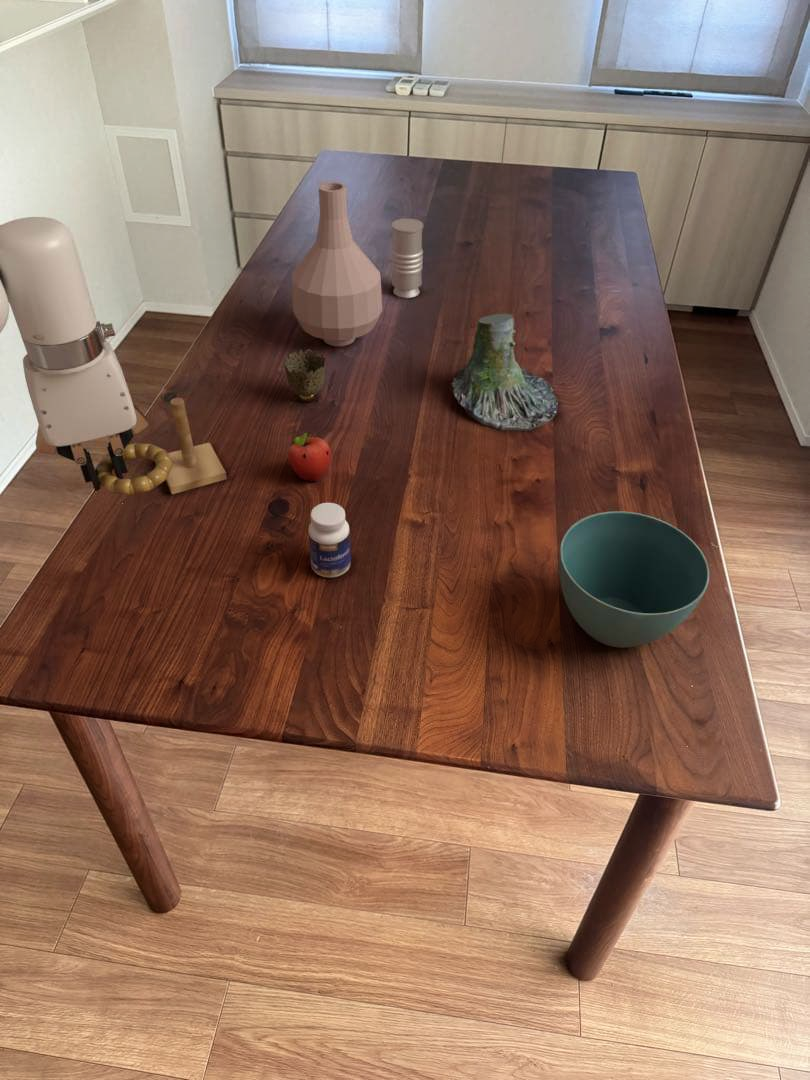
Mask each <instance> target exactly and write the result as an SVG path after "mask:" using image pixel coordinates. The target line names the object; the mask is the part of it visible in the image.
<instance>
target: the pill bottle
mask: <svg viewBox="0 0 810 1080" xmlns="http://www.w3.org/2000/svg"><path fill="white" fill-rule="evenodd" d="M350 532H351V531H350V525H349V523H348V521H347V520H346V511H345V509H344V508H343V507H342V506H341V505H340V504H337V503H335V502H322V503H319V504H317V505H315V506H314V507H313V508H312V509H311V511H310V524H309V526H308V532H307V533H308V543H309V544H308V545H309V558H310V566H311V569H312V571H313V572H314V573H315V574H317V575H318V576H320V577H322V578H327V579H328V578H329V579H332V578H338V577H340V576H342V575H344V574H345V573H346V572H348V570H349V569H350V567H351V563H352V562H351V561H352V559H351V533H350Z"/></svg>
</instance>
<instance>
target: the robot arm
mask: <svg viewBox="0 0 810 1080" xmlns="http://www.w3.org/2000/svg"><path fill="white" fill-rule="evenodd" d="M86 281H87V280H86V277H85V274H84V270H83V268H82V264H81V260H80V257H79V253H78V249H77V245H76V242H75V240H74V236H73V234H72V232H71V231H70V229H69V228H68V226H67V225H66V224H64V223H63V222H62V221H59V220H57V219H55V218H52V217H47V216H28V217H27V216H26V217H21V218H15V219H13V220H10V221H6V222H5V223H2V224H0V334H1V333H2V332H3V330H4V328H5V327H6V325H7V323H8V319H9V315H10V314H9V313H10V309H11V311H12V314H13V317H14V319H15V323H16V325H17V329H18V332H19V334H20V337H21V339H22V343H23V346H24V349H25V351H26V354H25V355H24V357H23V359H22V367H23V372H24V373H23V374H24V378H25V383H26V388H27V391H28V394H29V398H30V401H31V404H32V409H33V411H34V414H35V417H36V420H37V423H38V425H37V432H36V438H35V448H36V451H37V452H38V453H39V454H49V455H55V454H57V455H59V456H61V457H63V458H66V459H69V460H71V461H73V462H75V464H76V465H77V466H79V467H80V471H81V473H82V476H83V479H84V481H85V483H86V484H87V483H92V487H93V489H94V492H98V491H100V489H101V488H102V487H101V486H100V485H99V481H98V478H97V475H96V472H95V469H96V467H95V466H94V463H93V459H92V457H91V453H90V451H88V450H87V449H86V448H84V446H83V444H82V443H84V442H89V441H92V440H96V439H100V438H106V437H108V441H109V442H108V443H107V447H106V448H107V453H109V455H110V458H111V462H112V465H113V468H114V469H113V472H114V475H115V477H117V478H119V479H125V478H124V475H123V474H126V473H128V472H129V471H128V468H127V464H126V461H124V457H123V454H124V449H125V448H126V446H127V445H130V444H129V443H131V441H132V440H133V438H134V436H135V435H138V434H139V433H141V432H142V431H144V430H145V429H147V428H148V427H149V421H148V419H147V416H145V414H144V413H143V412H142V411H141V410H140V409H139V408H138V407H137V406H136V405H135V403H134V402H133V398H132V396H131V394H130V393H131V392H130V389H129V387H128V384H127V380H126V379H125V375H124V372H123V369H122V366H121V364H120V361H119V359H118V357H117V355H116V353H115V351H114V349H113V346H112V345H111V343H110V341H108V339H109V338H110V337H116V331H115V328H114V326H113V323H112V322H110V323H104V322H103V323H101V321H100V320H99V321H97V317H96V313H95V310H94V307H93V303H92V299H91V295H90V291H89V289H88V286H87V285H88V284H87V282H86Z"/></svg>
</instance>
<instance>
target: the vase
mask: <svg viewBox="0 0 810 1080" xmlns="http://www.w3.org/2000/svg"><path fill="white" fill-rule="evenodd" d="M318 203H319V204H318V205H319V220H318V226H317V234H316V241H315V242H314V244H313V245H312V246H311V248H309V250H308V251H307V253H306V254H305V256H304V257H303V258H302V259H301V261H300V262H299V264H298V265H297V266H296V268H294V270H293V272H292V273H291V291H292V292H291V293H292V295H291V296H292V312H293V314H294V316H295V318H296V320H297V322H298V324H299V325H300V327H301V328H302V330H303V331H304V332H305V333H307V334H309V335H310V336H312V337H313V338H318V339H321V340H323V342H324V343H325V344H326V345H329V346H333V347H344V346H345V347H346V346H348V345H351V344H352V343H354V342H355V340H356V339H358V338H360V337H363V336H365V335H366V334H368V333H370V332H371V331H373V329H374V328H375V326H376V325H377V322H378V320H379V318H380V316H381V314H382V312H383V295H382V294H383V293H382V278H381V271H380V270H379V269H378V268H377V267H376V265H374V264H373V262H372V261H371V260H370V259H369V257H368V256H367V255H366V254H365V252H364V251H363V250H362V249H361V248H360V246H359V245H358V244H357V243H356V242H355V241H354V238H353V234H352V231H351V226H350V222H349V217H348V207H347V185H346V184H345V183H343V182H338V181H326V182H322V183H320V184H318Z"/></svg>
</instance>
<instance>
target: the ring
mask: <svg viewBox="0 0 810 1080" xmlns="http://www.w3.org/2000/svg"><path fill="white" fill-rule="evenodd" d="M168 453H169V452H167V450H165V449H163V448H161V447H159V446H157V445H156V444H153V443H140V442H139V443H137V442H135V443H130V444H128V445H127V446H126V448H125V449H124V454H123V457H124V461H125V462H126V461H130V460H135V459H149V460H151V461H153V462H155V466H154V469H152V470H151V471H149V472H148V473H146V474H145V475H142V476H138V477H135V478H124V479H119V478H117V477H116V475H113V472H114V468H113V465H112V462H111V458H110V455H109V452H107V453H106V454H104V455H103V456H102V457H101V458H100V460H99V462H98V464H97V465H96V467H95V472H96V475H97V478H98V481H99V485H100V488H103V489H104V490H107V491H109V492H111V493H113V494H115V495H130V496H131V495H134V496H135V495H137V494H141V493H145V492H149V491H152V490H154V489H155V488H157V487H159V485H161V484H162V483H164V482H166V479H167V477H168V475H169V473H170V471H171V469H172V462H171V459H170V457H169V455H168Z"/></svg>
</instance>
